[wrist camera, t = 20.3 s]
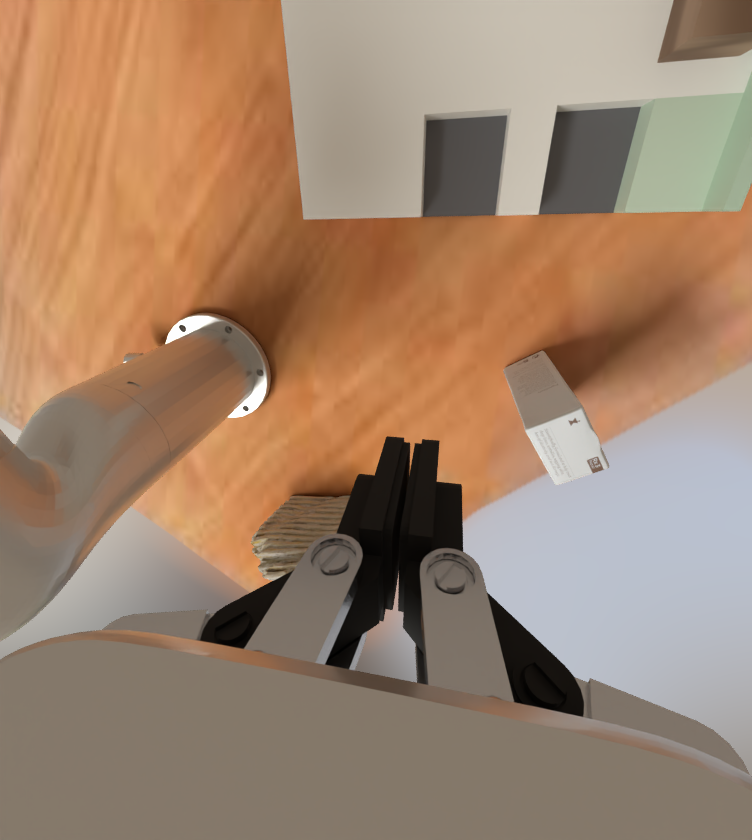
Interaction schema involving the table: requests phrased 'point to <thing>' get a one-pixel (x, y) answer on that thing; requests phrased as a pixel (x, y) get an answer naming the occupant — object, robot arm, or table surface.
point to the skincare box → (554, 419)
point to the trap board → (509, 110)
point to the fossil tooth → (295, 532)
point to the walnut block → (707, 30)
